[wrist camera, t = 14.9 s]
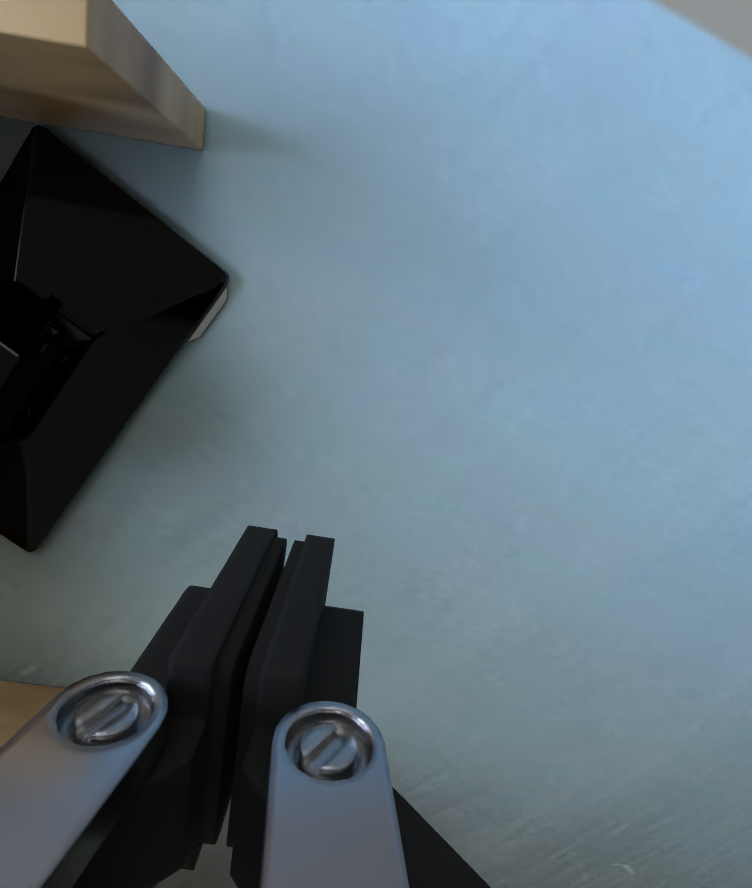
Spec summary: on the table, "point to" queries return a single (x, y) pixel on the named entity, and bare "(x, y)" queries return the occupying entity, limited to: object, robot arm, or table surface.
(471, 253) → the table surface
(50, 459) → the build plate
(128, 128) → the shelf bay
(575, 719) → the table surface
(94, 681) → the robot arm
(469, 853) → the table surface
